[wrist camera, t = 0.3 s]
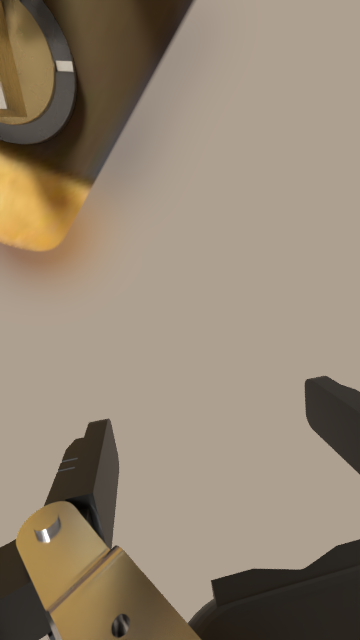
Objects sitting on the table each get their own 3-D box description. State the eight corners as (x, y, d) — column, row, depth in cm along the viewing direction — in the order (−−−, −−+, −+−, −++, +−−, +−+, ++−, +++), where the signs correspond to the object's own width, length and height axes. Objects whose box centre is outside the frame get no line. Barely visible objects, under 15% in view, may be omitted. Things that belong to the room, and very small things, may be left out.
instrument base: (-90, 66, 25) (-114, 55, 23) (-23, -71, 22) (-42, -100, 20) (34, 171, 31) (26, 172, 28) (102, 74, 28) (99, 65, 25)
